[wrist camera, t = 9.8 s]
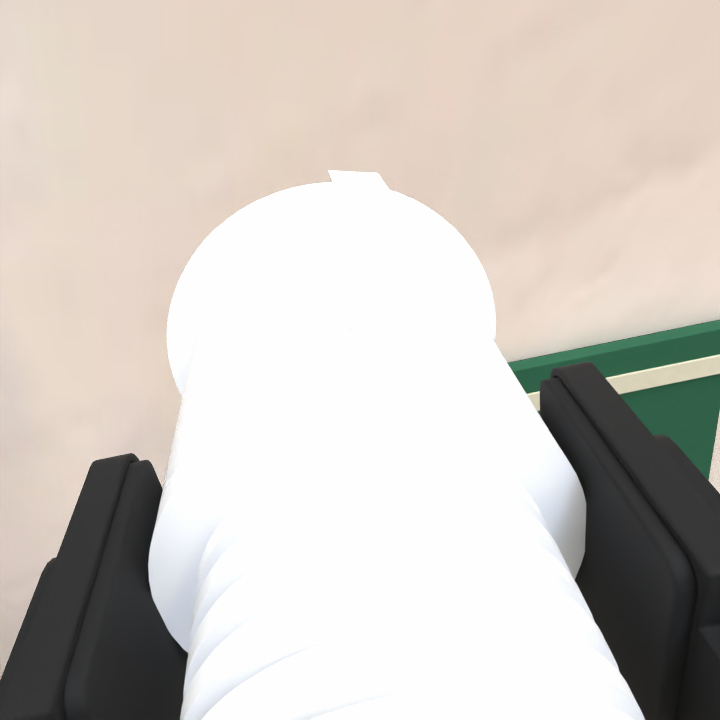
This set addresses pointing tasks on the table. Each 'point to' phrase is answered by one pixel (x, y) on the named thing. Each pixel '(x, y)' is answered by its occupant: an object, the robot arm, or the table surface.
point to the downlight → (365, 482)
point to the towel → (653, 382)
